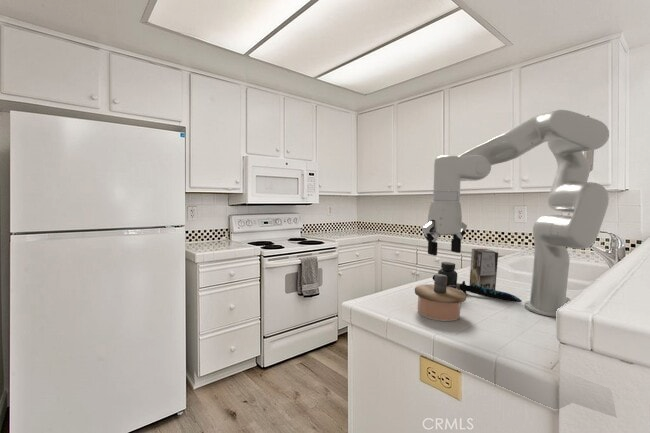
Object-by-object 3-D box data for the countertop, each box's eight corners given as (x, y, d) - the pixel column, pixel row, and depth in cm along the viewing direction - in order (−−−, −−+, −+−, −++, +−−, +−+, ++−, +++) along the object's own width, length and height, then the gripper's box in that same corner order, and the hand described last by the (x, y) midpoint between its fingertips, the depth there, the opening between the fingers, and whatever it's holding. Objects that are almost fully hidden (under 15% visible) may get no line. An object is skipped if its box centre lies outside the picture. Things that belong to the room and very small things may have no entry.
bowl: (438, 304, 109) (439, 287, 109) (467, 318, 98) (469, 298, 98) (410, 309, 104) (411, 291, 103) (438, 323, 93) (439, 303, 92)
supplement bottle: (452, 299, 115) (455, 266, 114) (433, 295, 119) (435, 263, 119) (458, 295, 121) (460, 263, 120) (439, 291, 125) (441, 260, 124)
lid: (439, 285, 111) (440, 268, 110) (477, 299, 97) (478, 279, 97) (404, 290, 104) (405, 271, 103) (440, 305, 90) (441, 284, 90)
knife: (430, 285, 127) (432, 274, 127) (432, 283, 130) (434, 272, 129) (520, 310, 112) (523, 298, 112) (520, 308, 115) (523, 296, 114)
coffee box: (495, 295, 123) (499, 252, 121) (478, 294, 123) (481, 252, 121) (484, 287, 132) (487, 248, 130) (468, 287, 132) (471, 247, 131)
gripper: (456, 196, 105) (454, 249, 107) (415, 197, 98) (413, 253, 99) (476, 197, 99) (474, 253, 100) (434, 197, 91) (432, 258, 92)
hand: (444, 253), depth 100 cm, fingers open, 9 cm apart
